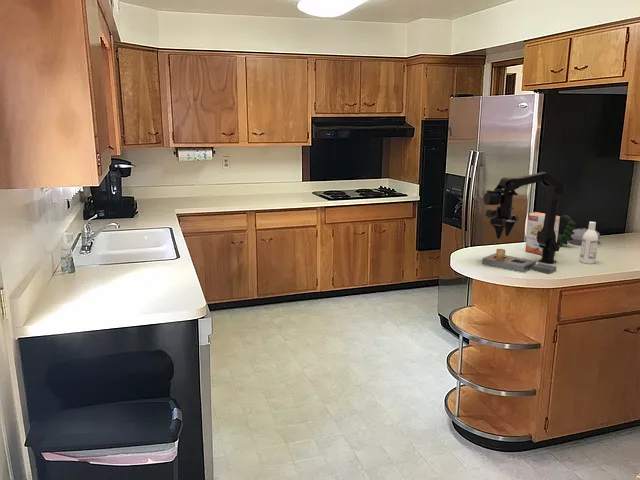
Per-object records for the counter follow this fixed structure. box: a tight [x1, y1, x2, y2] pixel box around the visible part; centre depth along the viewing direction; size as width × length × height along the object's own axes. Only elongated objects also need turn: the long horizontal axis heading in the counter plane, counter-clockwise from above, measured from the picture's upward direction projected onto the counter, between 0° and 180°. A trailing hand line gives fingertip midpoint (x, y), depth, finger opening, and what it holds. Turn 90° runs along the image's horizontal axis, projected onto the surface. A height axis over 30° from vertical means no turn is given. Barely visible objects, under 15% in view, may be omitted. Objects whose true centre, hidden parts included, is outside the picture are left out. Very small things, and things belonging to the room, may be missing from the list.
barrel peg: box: [495, 248, 506, 259], centre depth 248 cm, size 4×4×7 cm
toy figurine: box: [557, 214, 577, 246], centre depth 294 cm, size 9×19×25 cm
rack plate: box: [481, 253, 537, 273], centre depth 246 cm, size 14×20×3 cm
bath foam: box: [579, 221, 599, 265], centre depth 254 cm, size 7×7×20 cm
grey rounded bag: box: [568, 227, 601, 246], centre depth 299 cm, size 15×8×20 cm
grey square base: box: [531, 262, 557, 275], centre depth 239 cm, size 8×8×2 cm
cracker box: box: [524, 211, 561, 256], centre depth 269 cm, size 14×6×21 cm, turn 35°
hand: (502, 237), depth 247 cm, fingers open, 9 cm apart
